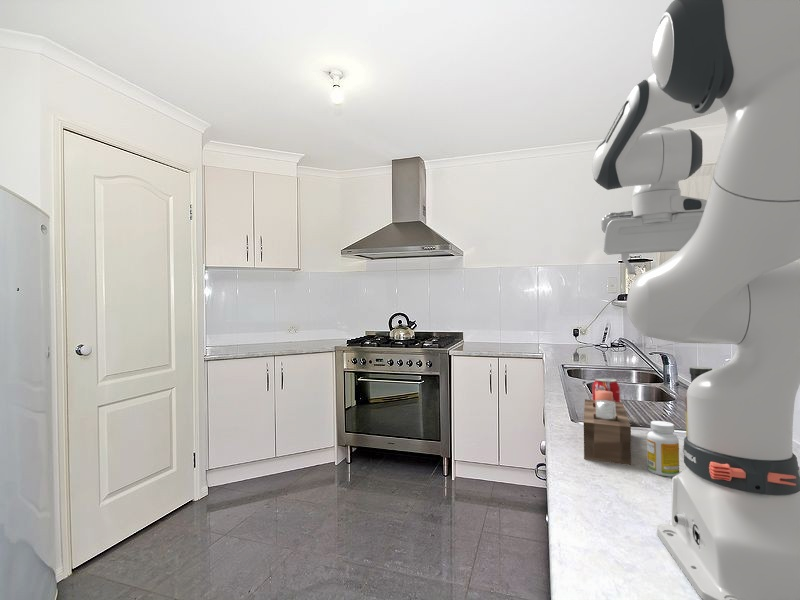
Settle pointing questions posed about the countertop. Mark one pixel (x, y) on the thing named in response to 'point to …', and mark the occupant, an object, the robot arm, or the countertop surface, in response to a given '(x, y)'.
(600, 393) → the pink oval piece
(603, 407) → the steel plug
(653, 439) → the supplement bottle
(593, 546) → the countertop surface
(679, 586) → the countertop surface
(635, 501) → the countertop surface
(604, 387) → the soda can
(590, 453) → the plug block
